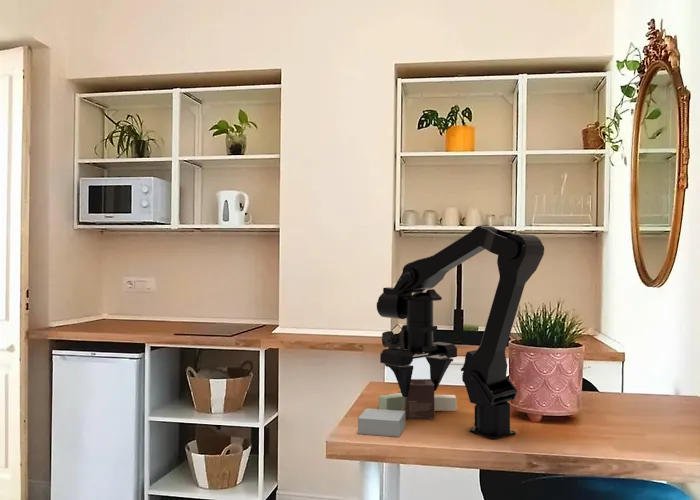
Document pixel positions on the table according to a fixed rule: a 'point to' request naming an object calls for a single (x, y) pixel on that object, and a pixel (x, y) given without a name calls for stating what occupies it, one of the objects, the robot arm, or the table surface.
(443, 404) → the cream brick
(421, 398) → the box
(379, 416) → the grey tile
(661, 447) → the table surface
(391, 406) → the sage brick
